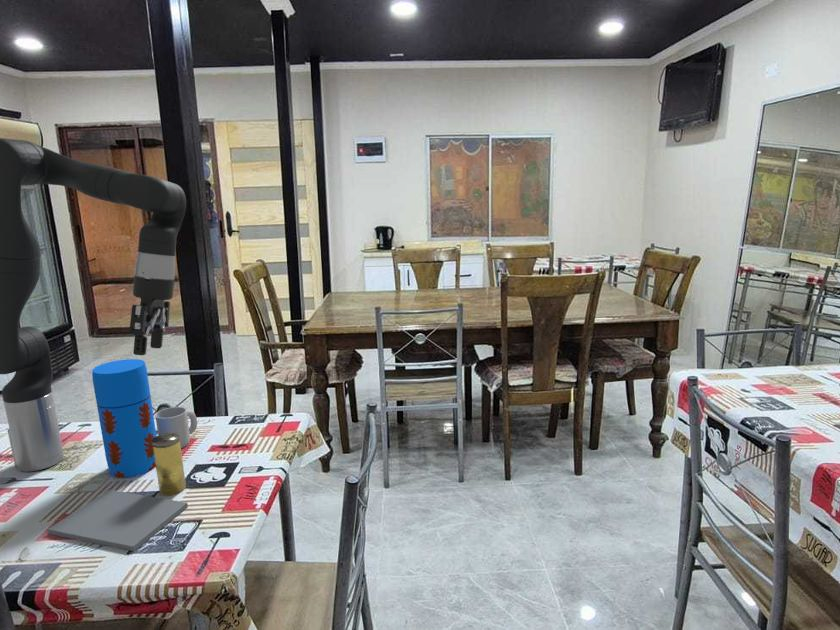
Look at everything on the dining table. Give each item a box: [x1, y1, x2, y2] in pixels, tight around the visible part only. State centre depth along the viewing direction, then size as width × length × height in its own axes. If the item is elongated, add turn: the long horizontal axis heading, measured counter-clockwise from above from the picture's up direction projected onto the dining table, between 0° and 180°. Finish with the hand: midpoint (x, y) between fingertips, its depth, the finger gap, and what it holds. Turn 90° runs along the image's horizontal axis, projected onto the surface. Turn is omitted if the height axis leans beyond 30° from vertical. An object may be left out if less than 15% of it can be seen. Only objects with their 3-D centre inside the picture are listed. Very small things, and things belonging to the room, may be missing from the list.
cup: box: [154, 406, 198, 449], centre depth 134 cm, size 7×10×9 cm
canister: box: [152, 433, 187, 496], centre depth 112 cm, size 5×5×12 cm
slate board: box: [47, 489, 189, 552], centre depth 102 cm, size 20×14×1 cm
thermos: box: [91, 358, 157, 479], centre depth 120 cm, size 11×11×25 cm
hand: (148, 351), depth 110 cm, fingers open, 8 cm apart
